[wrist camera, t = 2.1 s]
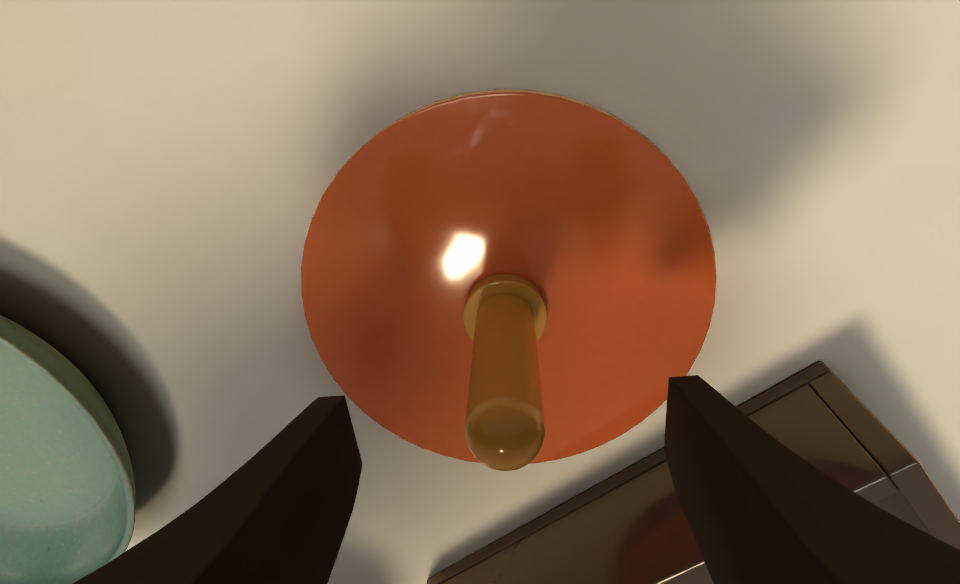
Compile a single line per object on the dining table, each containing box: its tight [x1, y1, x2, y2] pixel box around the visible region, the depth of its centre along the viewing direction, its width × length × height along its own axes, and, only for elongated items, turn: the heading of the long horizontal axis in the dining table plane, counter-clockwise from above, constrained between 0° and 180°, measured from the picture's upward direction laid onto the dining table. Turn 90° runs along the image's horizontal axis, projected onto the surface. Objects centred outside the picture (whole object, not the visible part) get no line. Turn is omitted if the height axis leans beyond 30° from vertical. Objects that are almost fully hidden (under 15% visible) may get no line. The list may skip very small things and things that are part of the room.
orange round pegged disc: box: [301, 89, 716, 471], centre depth 14 cm, size 13×13×7 cm
